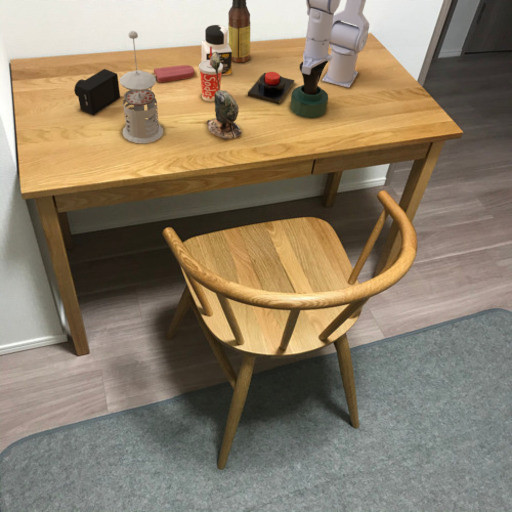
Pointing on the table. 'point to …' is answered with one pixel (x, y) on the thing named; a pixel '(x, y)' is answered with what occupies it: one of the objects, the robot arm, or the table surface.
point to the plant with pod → (223, 109)
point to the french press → (140, 105)
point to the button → (272, 78)
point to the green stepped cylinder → (308, 103)
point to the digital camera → (97, 91)
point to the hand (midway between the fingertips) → (311, 87)
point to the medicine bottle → (217, 46)
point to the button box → (271, 90)
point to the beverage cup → (209, 79)
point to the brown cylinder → (314, 89)
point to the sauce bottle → (239, 31)
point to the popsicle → (173, 73)
